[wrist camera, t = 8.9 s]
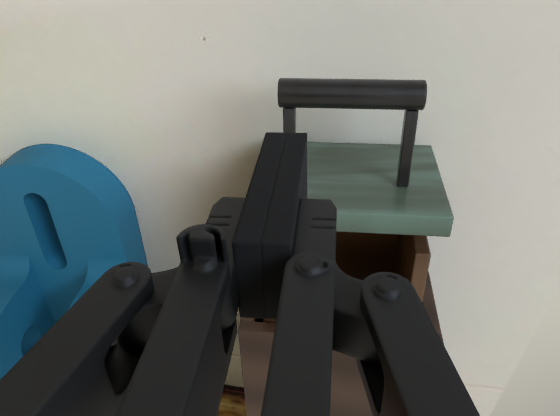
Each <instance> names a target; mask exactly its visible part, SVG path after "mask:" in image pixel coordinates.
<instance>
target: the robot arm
mask: <svg viewBox="0 0 560 416" xmlns="http://www.w3.org/2000/svg"><path fill="white" fill-rule="evenodd" d="M336 224H337V208H336V206H335V205H334V203H333V202H332V201H331V199H307V133H266V134H265V138H264V141H263V144H262V147H261V150H260V153H259V157H258V160H257V163H256V166H255V169H254V172H253V176H252V179H251V182H250V185H249V188H248V191H247V195H246V198H229V197H223V198H221V199H220V200H219V201H218V202H217V203H216V204H215V205H213V207H212V210H211V212H210V215H209V218H208V220H207V222H206V224H201V225H195V226H192V227H188V228H187V229H185V230H183V231H182V232H180V234H179V235H178V236H177V238H176V239H177V244H178V249H179V254H180V260H181V263H180V265H179V267H177V268H175V269H171V270H167V271H162V272H156V273H151V271H150V269H149V268H148V267H147V265H145V264H142V263H140V262H126V263H121V264H118V265H116V266H113V267H111V268H110V269H109V270H107V271H106V272H105V273H104V274H103V275H102V276H101V277H100V278H99V279H98V280H97V281H96V282H95V283H94V284H93V285H92V286H91V287H90V288H89V289H88V290H87V291H86V292H85V293H84V294H83V295H82V296H81V297H80V298H79V299H78V301H77V302H76V303H75V304H74V305H73V306H72V307H71V308H70V309H69V310H68V311H67V312H66V313H65V314H64V315H63V316H62V317H61V318H60V319H59V320H58V321H57V322H56V323H55V324H54V325H53V326H52V327H51V328H50V329H49V330H48V331H47V332H46V333H45V334H44V335H43V336H42V337H41V338H40V340H39V341H38V342H37V343H36V344H35V345H34V346H33V347H32V348H31V349H30V350H29V351H28V352H27V353H26V354H25V355H24V356H23V357H22V358H21V359H20V360H19V361H18V362H17V363H16V364H15V365H14V366H13V367H12V368H11V369H10V370H9V371H8V372H7V373H6V374H5V375H4V376H3V377H2V379H1V380H0V416H217V413H218V409H219V405H220V401H221V397H222V392H223V388H224V384H225V380H226V376H227V371H228V367H229V363H230V359H231V355H232V350H233V346H234V342H235V338H236V334H237V323H236V315H237V311H238V307H239V311H240V317H243V318H260V319H276V325H275V331H274V337H273V343H272V350H271V356H270V362H269V368H268V374H267V380H266V386H265V392H264V398H263V405H262V411H261V416H330V406H331V378H332V351H333V350H334V351H337V352H340V353H343V354H345V355H348V356H351V357H354V358H356V363H357V366H358V369H359V373H360V376H361V379H362V382H363V385H364V389H365V392H366V395H367V398H368V401H369V405H370V408H371V411H372V414H373V416H480V415H479V413H478V411H477V409H476V407H475V405H474V403H473V401H472V400H471V398H470V396H469V394H468V392H467V390H466V388H465V386H464V384H463V382H462V380H461V378H460V376H459V374H458V372H457V370H456V368H455V366H454V364H453V362H452V360H451V359H450V357H449V355H448V353H447V351H446V349H445V347H444V345H443V343H442V341H441V339H440V337H439V335H438V333H437V331H436V329H435V327H434V325H433V323H432V321H431V320H430V318H429V316H428V314H427V312H426V310H425V308H424V306H423V304H422V302H421V300H420V298H419V296H418V294H417V292H416V290H415V288H414V286H413V285H412V284H411V283H410V281H409V280H408V279H406V278H404V277H403V276H401V275H399V274H395V273H391V272H378V273H374V274H371V275H369V276H368V277H366V278H365V279H364V280H360V279H357V278H354V277H351V276H349V275H347V274H346V273H344V272H343V271H342V270H341V269H340V268H339V267H338V265H337V263H336V259H335V256H336Z"/></svg>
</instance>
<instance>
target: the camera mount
mask: <svg viewBox="0 0 560 416" xmlns="http://www.w3.org/2000/svg"><path fill="white" fill-rule="evenodd" d="M126 262H140V263H142V264H145V265H147V261H146V256H145V252H144V247H143V243H142V238H141V234H140V230H139V225H138V221H137V216H136V212H135V208H134V205H133V202H132V200H131V198H130V195H129V194H128V192H127V190H126V189H125V187H124V186H123V184H122V183H121V182H120V181H119V179H118V178H117V177H116V176H115V175H114V174H113V173H112V172H111V171H110V170H109V169H108V168H106V167H105V166H104V165H103V164H101V163H100V162H98V161H97V160H95V159H94V158H92V157H90V156H88V155H86V154H84V153H82V152H80V151H78V150H75V149H72V148H69V147H65V146H61V145H55V144H38V145H33V146H29V147H26V148H23V149H21V150H19V151H18V152H16V153H15V154H13V155H12V156H11V157H10V158H9V159H7V160H6V161H5V162H4V163H3V164H1V165H0V380H1V379H2V377H3V376H4V375H5V374H6V373H7V372H8V371H9V370H10V369H11V368H12V367H13V366H14V365H15V364H16V363H17V362H18V361H19V360H20V359H21V358H22V357H23V356H24V355H25V354H26V353H27V352H28V351H29V350H30V349H31V348H32V347H33V346H34V345H35V344H36V343H37V342H38V341H39V340H40V338H41V337H42V336H43V335H44V334H45V333H46V332H47V331H48V330H49V329H50V328H51V327H52V326H53V325H54V324H55V323H56V322H57V321H58V320H59V319H60V318H61V317H62V316H63V315H64V314H65V313H66V312H67V311H68V310H69V309H70V308H71V307H72V306H73V305H74V304H75V303H76V302H77V301H78V299H79V298H80V297H81V296H82V295H83V294H84V293H85V292H86V291H87V290H88V289H89V288H90V287H91V286H92V285H93V284H94V283H95V282H96V281H97V280H98V279H99V278H100V277H101V276H102V275H103V274H104V273H105V272H106V271H107V270H109V269H110V268H111V267H113V266H116V265H118V264H121V263H126ZM147 267H148V265H147Z"/></svg>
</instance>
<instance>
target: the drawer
mask: <svg viewBox="0 0 560 416" xmlns="http://www.w3.org/2000/svg"><path fill="white" fill-rule="evenodd" d="M426 97H427V84H426V81H425V80H377V79H302V78H280V79H279V82H278V105H279V107H284V108H283V131H284V133H296V108H341V109H392V110H405V112H404V121H403V129H402V137H401V145H391V144H354V143H316V142H307V199H331V201H332V202H333V203H334V205H335V206H336V208H337V224H336V256H335V259H336V263H337V265H338V267H339V268H340V269H341V270H342V271H343V272H344V273H346V274H347V275H349V276H351V277H354V278H357V279H360V280H364V279H365V278H366V277H368V276H369V275H371V274H374V273H378V272H391V273H395V274H399V275H401V276H403V277H404V278H406V279H408V280H409V281H410V283H411V284H412V285H413V286H414V288H415V290H416V292H417V294H418V296H419V298H420V300H421V302H422V300H423V295H424V289H425V284H426V278H427V273H428V268H429V262H430V257H431V253H430V249H429V244H428V240H427V236H443V237H450V234H451V229H452V224H453V219H454V217H453V214H452V211H451V207H450V204H449V201H448V198H447V195H446V191H445V188H444V185H443V182H442V179H441V176H440V172H439V169H438V166H437V163H436V160H435V156H434V153H433V150H432V147H431V146H428V145H414V141H415V134H416V127H417V120H418V110H423V109H424V107H425V103H426ZM263 322H266V323H276V319H263Z"/></svg>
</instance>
